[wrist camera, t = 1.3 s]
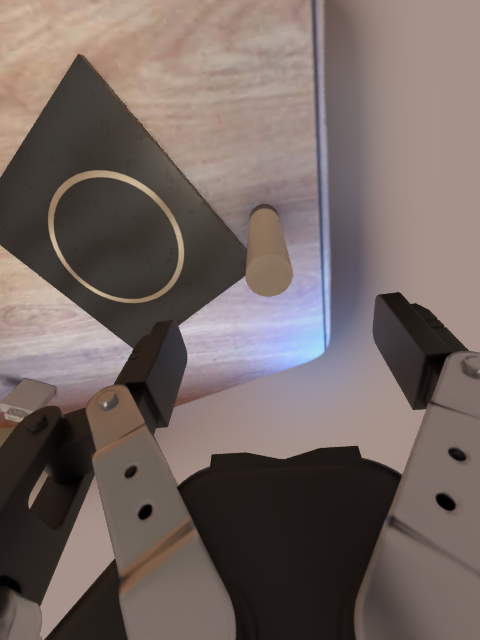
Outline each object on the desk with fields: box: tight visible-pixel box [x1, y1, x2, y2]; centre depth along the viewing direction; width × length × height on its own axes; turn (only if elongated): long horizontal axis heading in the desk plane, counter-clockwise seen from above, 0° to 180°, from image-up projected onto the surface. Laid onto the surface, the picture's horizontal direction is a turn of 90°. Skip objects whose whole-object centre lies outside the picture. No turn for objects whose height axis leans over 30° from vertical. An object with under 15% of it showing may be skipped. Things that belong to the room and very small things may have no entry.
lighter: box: [0, 378, 56, 422], centre depth 36 cm, size 7×2×8 cm, turn 69°
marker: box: [246, 204, 293, 297], centre depth 21 cm, size 3×3×12 cm
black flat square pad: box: [0, 54, 247, 349], centre depth 27 cm, size 20×18×1 cm
